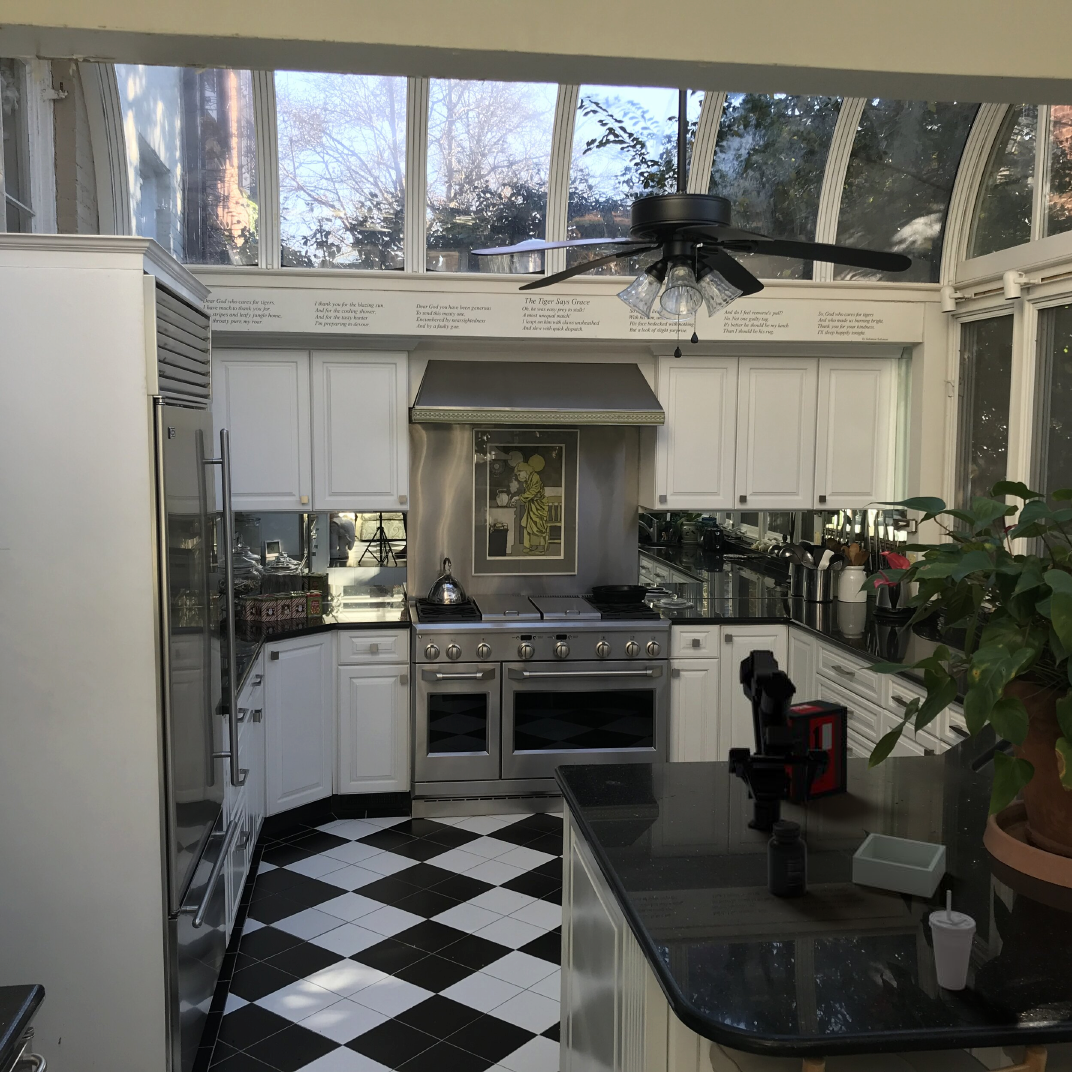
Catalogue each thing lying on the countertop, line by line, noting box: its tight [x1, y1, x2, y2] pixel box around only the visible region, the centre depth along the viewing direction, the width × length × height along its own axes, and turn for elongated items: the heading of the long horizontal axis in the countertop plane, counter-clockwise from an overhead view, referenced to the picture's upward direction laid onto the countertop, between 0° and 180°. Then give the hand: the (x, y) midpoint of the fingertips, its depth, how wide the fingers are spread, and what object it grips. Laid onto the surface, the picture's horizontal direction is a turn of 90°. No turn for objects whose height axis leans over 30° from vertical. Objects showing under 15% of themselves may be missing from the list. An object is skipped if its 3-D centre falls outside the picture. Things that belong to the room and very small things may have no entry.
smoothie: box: [928, 889, 977, 991], centre depth 149 cm, size 6×6×14 cm
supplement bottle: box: [767, 820, 808, 898], centre depth 182 cm, size 7×7×12 cm
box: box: [852, 832, 947, 899], centre depth 187 cm, size 14×14×5 cm
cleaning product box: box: [784, 699, 848, 805], centre depth 235 cm, size 16×9×20 cm, turn 120°
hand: (782, 802), depth 189 cm, fingers open, 9 cm apart
